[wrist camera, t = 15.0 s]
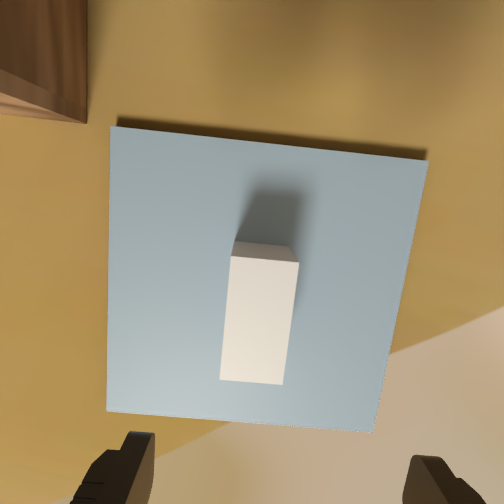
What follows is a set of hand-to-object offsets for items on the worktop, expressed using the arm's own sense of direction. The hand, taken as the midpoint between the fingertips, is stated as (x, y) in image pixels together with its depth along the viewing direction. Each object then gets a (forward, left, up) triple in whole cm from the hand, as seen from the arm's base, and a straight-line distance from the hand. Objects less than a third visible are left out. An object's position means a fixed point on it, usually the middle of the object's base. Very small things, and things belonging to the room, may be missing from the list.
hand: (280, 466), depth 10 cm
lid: (0, 0, -17) cm, 17 cm away
